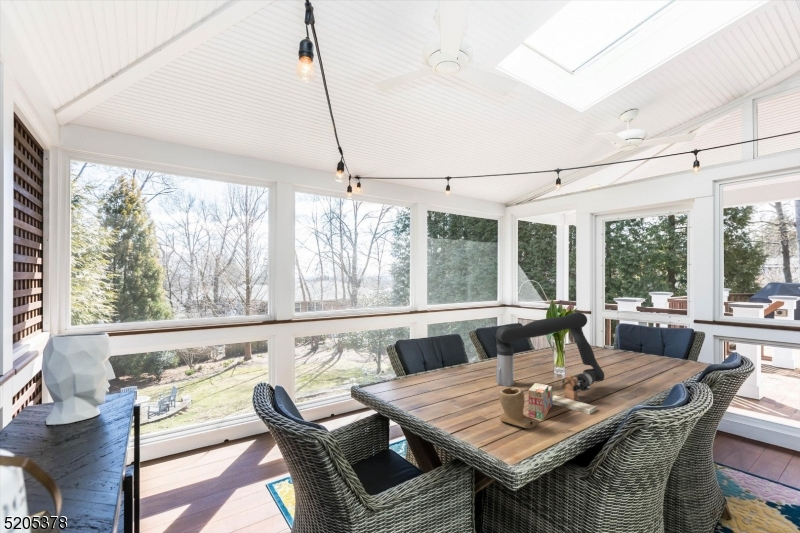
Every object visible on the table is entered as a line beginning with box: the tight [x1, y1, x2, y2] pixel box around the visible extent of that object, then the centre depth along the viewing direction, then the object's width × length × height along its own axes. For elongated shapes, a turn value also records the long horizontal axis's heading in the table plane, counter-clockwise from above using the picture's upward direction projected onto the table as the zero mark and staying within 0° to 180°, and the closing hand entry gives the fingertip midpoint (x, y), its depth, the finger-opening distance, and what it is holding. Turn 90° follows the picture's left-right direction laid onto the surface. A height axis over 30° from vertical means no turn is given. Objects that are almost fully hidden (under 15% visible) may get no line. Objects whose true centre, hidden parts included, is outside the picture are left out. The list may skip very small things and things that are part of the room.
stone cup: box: [498, 386, 540, 429], centre depth 154 cm, size 15×12×15 cm
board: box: [553, 394, 597, 415], centre depth 176 cm, size 20×8×2 cm, turn 42°
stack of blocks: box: [527, 382, 554, 420], centre depth 170 cm, size 21×6×12 cm, turn 146°
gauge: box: [561, 375, 578, 401], centre depth 181 cm, size 11×4×12 cm, turn 132°
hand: (568, 387), depth 182 cm, fingers closed on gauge, 4 cm apart
